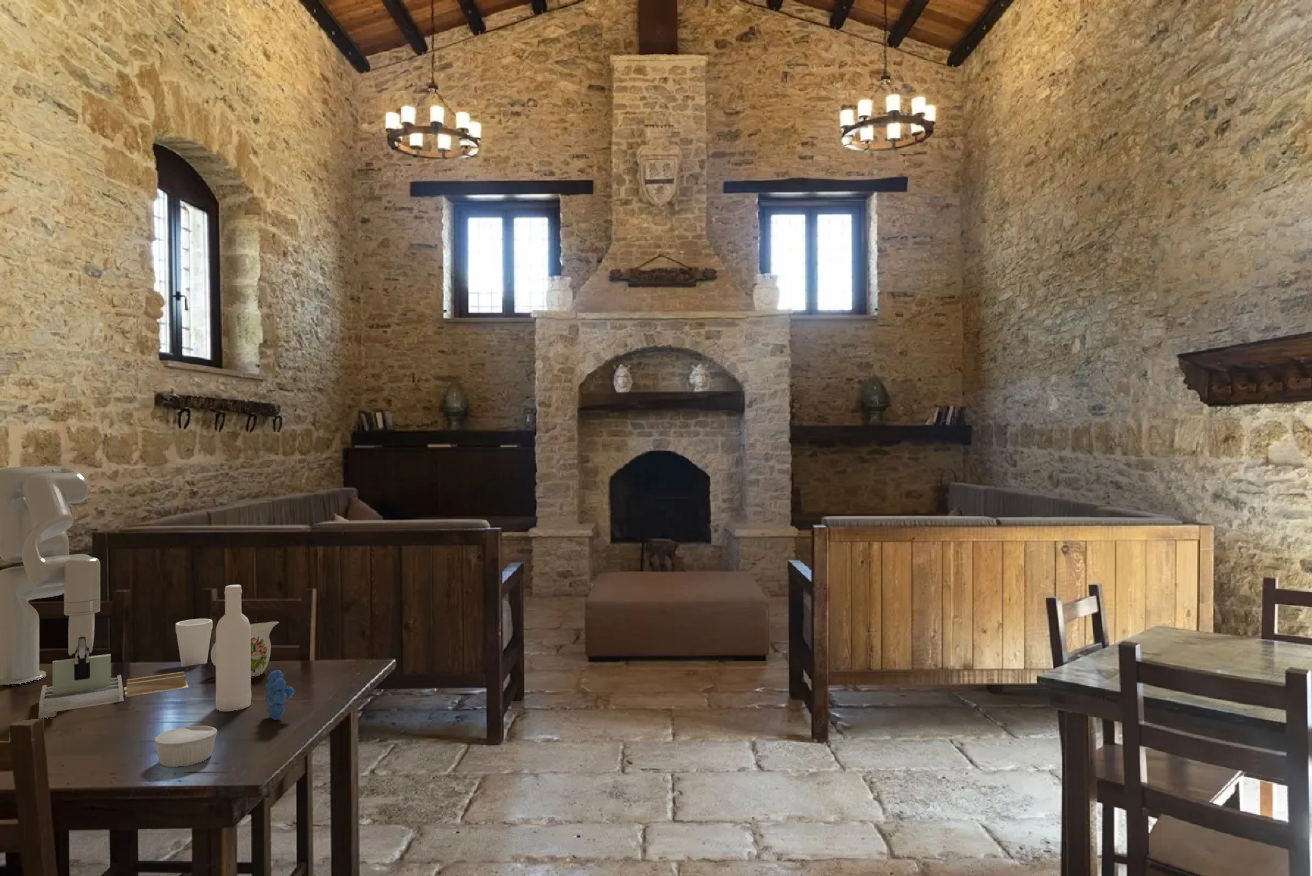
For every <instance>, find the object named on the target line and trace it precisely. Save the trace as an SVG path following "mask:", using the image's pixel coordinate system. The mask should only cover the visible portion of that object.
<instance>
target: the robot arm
mask: <svg viewBox="0 0 1312 876" xmlns="http://www.w3.org/2000/svg"><path fill="white" fill-rule="evenodd" d="M89 490H90V489H89V485H88V481H87V479H86V477H84V476H83V475H82V473H81V472H78V471H76V470H74V469H72V468H70V467H66V466H59V465H49V466H48V465H46V466H44V465H43V466H42V465H41V466H40V465H39V466H33V465H32V466H14V467H10V466H9V467H4V468H1V469H0V558H1V560H3V561H5V562H9V563H18V562H19V563H20V562H22V565H21V566H20V565H19V566H12V567H7V568H4V569H1V570H0V685H9V684H20V685H22V684H21V683H25V684H27V683H26V682H30V681H33V680H38V681H40V680H42V679H41V678H43V677H44V678H46V676H47V672H46V671H44V670H40V614H39V613H38V611H37V610H36V608H35V607H34V606H33V605H31V604H30V603H29V601H30V600H31V601H32V600H36V599H43V598H45V599H46V598H50V597H51V598H52V597H56V596H60V595H63V615H65V616H68V635H67V637H68V655H69V656H72V655H74V654H75V655H74V658H75V664H74V680H83V679H89V678H90V662H89V657H91V654H90V653H92V652H93V647H94V641H95V639H94V638H95V614H96V613H99V612H101V562H100V560H99V558H97V557H92V556H90V555H88V554H85V553H76V554H70V543H69V542H70V541H69V537H68V534H67V532H66V531H67V530H69V529H70V528H71V527H72V525H73V524H74V517H73V514H72V511H71V509H70V507H69V504H78V503H83V502H85V500H87V498H88V495H89ZM44 678H43V679H44ZM39 679H40V680H39ZM30 683H31V682H30Z"/></svg>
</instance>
